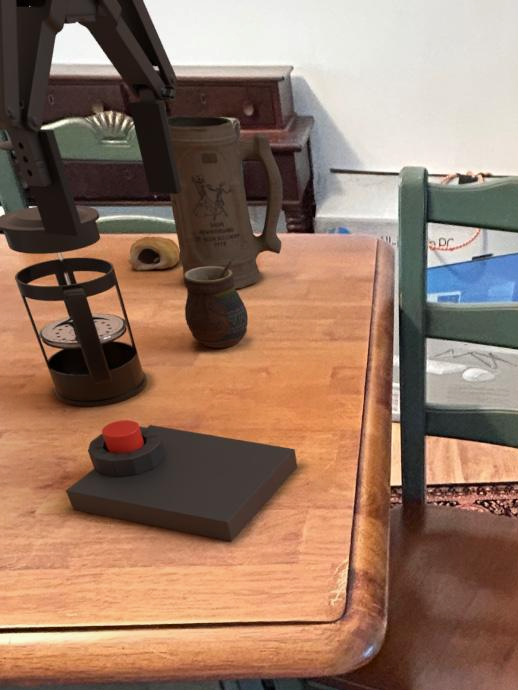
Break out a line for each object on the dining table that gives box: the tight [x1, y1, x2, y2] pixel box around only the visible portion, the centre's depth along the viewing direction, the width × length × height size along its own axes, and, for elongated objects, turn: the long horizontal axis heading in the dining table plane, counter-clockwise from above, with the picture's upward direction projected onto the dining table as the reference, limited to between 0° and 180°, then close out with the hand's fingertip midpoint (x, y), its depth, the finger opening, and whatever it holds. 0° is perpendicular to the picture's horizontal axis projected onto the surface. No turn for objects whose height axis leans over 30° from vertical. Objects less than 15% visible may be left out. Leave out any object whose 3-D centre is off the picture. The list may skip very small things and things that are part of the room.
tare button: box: [101, 419, 144, 454], centre depth 63 cm, size 3×3×2 cm
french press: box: [0, 139, 148, 407], centre depth 72 cm, size 12×9×23 cm
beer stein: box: [167, 115, 284, 290], centre depth 101 cm, size 15×11×20 cm
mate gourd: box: [182, 259, 249, 349], centre depth 86 cm, size 7×8×10 cm
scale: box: [65, 424, 298, 542], centre depth 64 cm, size 16×12×4 cm
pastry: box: [128, 236, 180, 271], centre depth 111 cm, size 9×7×4 cm
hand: (119, 211), depth 59 cm, fingers open, 13 cm apart
